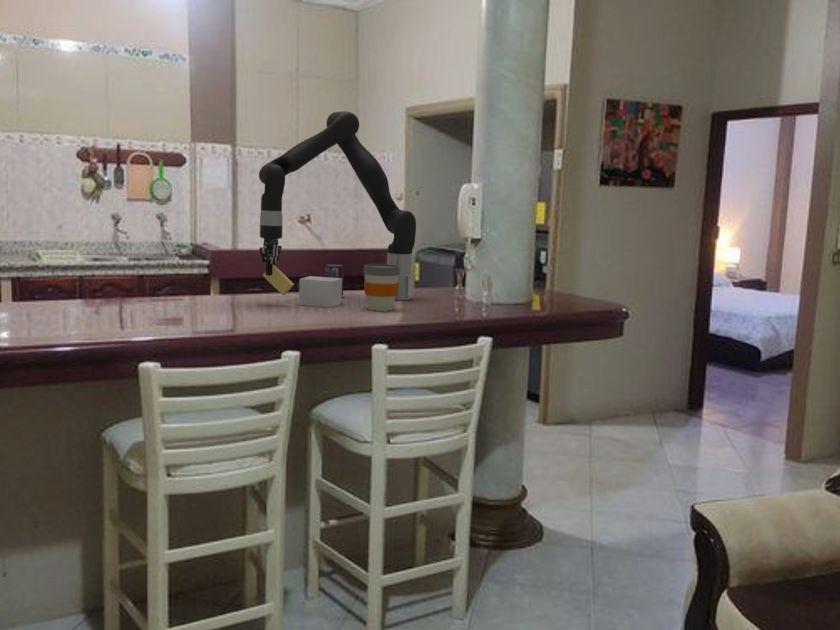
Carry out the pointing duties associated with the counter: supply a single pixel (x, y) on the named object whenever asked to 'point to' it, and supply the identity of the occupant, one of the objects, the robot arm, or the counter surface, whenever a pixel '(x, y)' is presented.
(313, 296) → the light grey block
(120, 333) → the counter surface
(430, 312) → the counter surface
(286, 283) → the yellow sponge block
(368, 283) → the reusable coffee cup
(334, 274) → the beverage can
